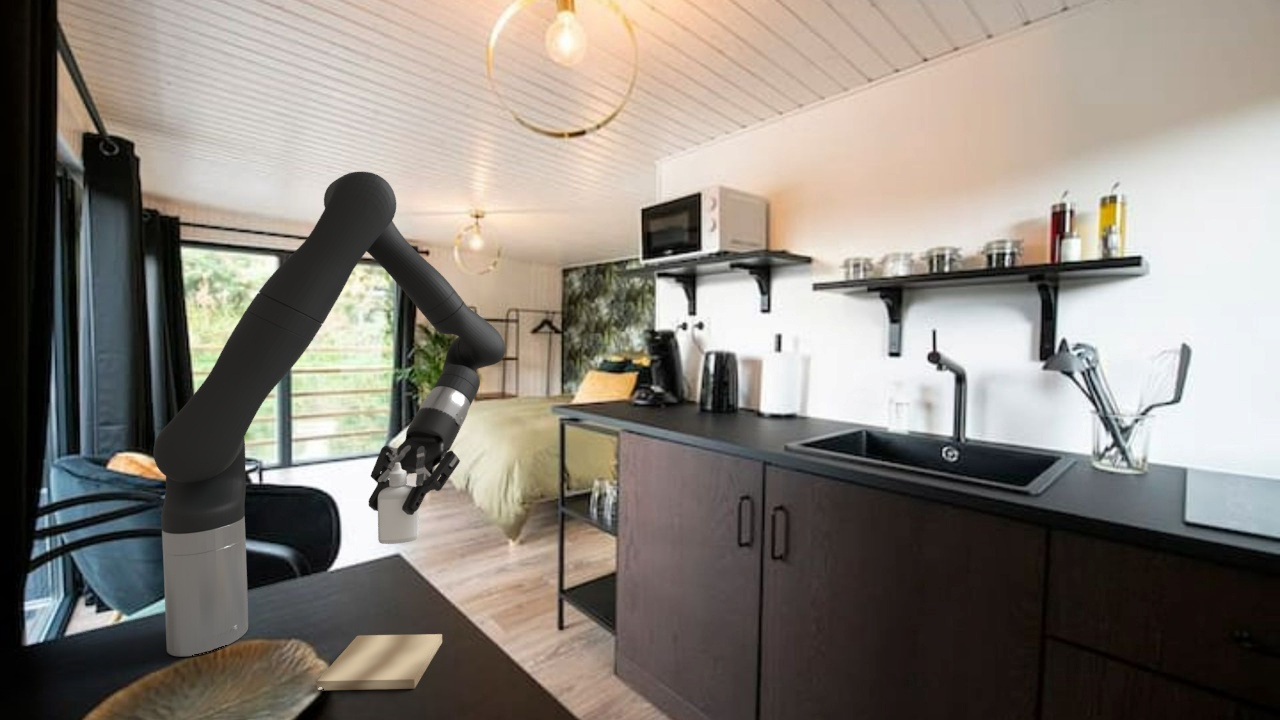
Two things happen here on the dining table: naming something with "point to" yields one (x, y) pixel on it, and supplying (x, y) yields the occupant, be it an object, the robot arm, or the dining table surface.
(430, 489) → the robot arm
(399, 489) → the eye dropper bottle
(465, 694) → the dining table surface
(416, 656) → the oak board
